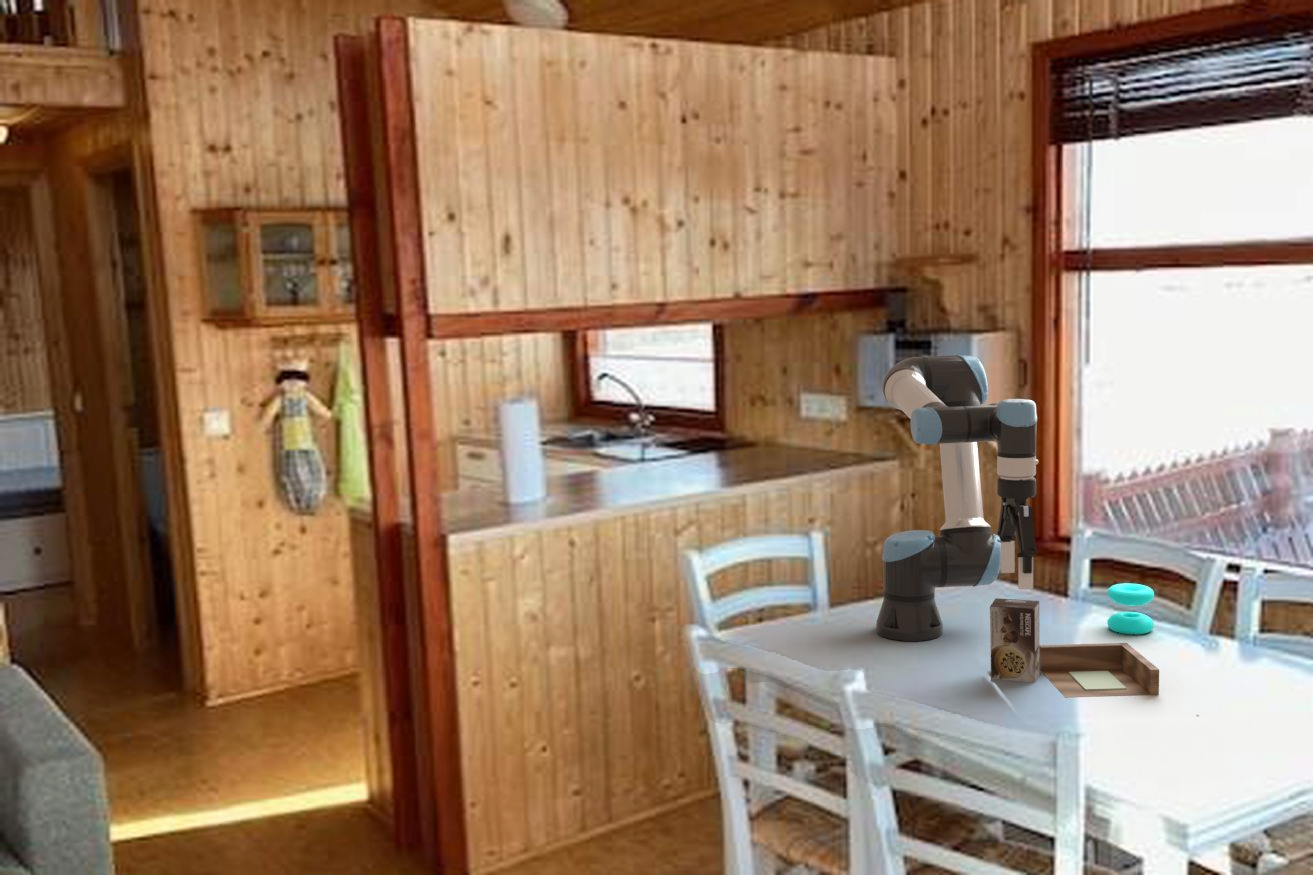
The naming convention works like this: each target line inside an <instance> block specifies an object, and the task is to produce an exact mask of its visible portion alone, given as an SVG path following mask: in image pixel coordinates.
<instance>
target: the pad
mask: <svg viewBox="0 0 1313 875" xmlns="http://www.w3.org/2000/svg"><path fill="white" fill-rule="evenodd" d="M1068 673H1069V674H1070V675H1071V676H1072V677H1073V678H1074V679H1075V680H1076V681H1077V683H1078V684H1079V685H1080V686H1081V687H1082V688H1083V689H1084V690H1085V691H1091V690H1126V689H1127V688H1126V687H1125V686H1124V685H1123V684H1122V683H1121V682H1119V681H1118V680H1117V679H1116V678H1115V677H1114V676H1113V675H1112V674H1111V673H1110V672H1109V671H1081V672H1068Z"/></svg>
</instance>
